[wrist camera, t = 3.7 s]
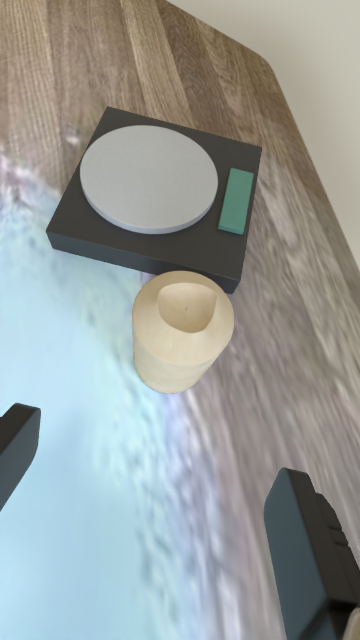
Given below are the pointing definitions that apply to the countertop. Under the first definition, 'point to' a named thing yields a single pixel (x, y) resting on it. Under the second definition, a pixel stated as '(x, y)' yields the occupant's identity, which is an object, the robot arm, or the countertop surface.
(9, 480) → the robot arm
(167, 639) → the countertop surface
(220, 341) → the candle
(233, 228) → the kitchen scale
